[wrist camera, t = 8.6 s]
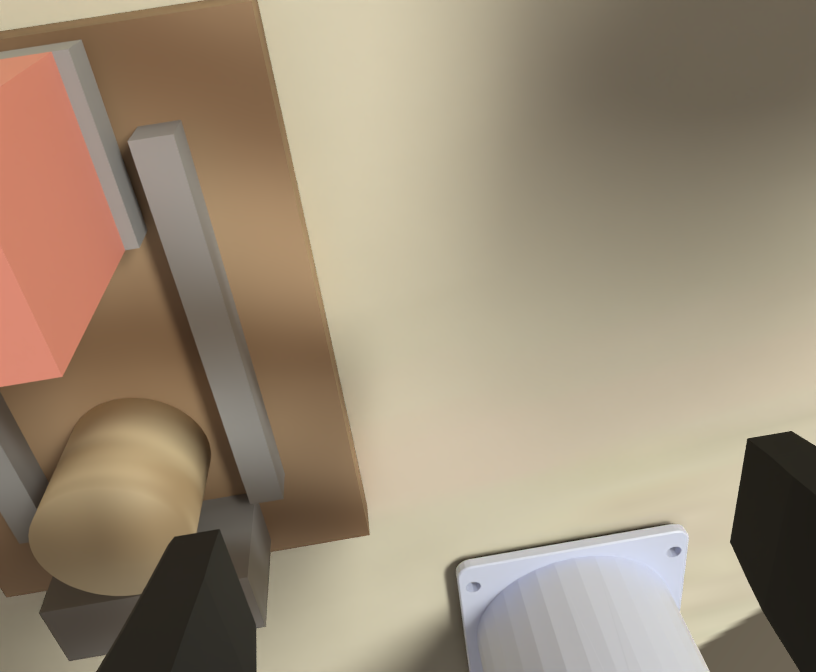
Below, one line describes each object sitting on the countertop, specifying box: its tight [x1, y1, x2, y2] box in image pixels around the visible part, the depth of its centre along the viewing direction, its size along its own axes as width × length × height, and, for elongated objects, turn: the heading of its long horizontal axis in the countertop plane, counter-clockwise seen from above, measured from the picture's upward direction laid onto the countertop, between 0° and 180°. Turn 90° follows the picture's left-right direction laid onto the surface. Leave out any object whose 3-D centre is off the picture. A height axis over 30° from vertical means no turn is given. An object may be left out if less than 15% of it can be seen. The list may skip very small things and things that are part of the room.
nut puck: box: [28, 398, 211, 596], centre depth 18 cm, size 4×4×3 cm
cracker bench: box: [0, 0, 370, 661], centre depth 17 cm, size 15×11×4 cm
